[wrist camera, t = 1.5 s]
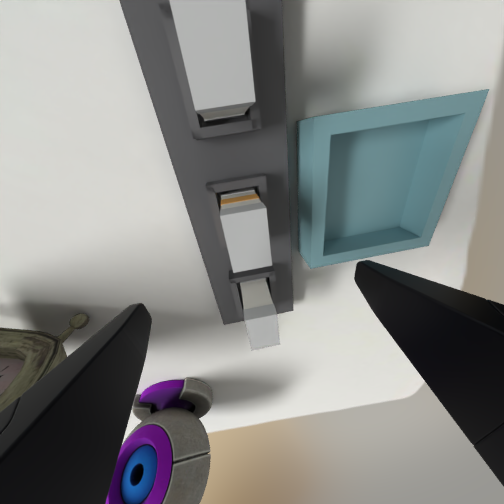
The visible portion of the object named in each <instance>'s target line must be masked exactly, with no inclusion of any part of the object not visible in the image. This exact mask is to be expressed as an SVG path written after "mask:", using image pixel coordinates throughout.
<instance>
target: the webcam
mask: <svg viewBox="0 0 504 504" xmlns="http://www.w3.org/2000/svg"><path fill="white" fill-rule="evenodd" d="M212 400H213V392H212V390H211V388H210V387H209V386H208V385H207V384H205V383H203V382H201V381H198V380H195V379H190V378H185V380H171V381H164V382H160V383H157V384H154V385H152V386H150V387H149V388H147V389H146V390H144V392H143V393H142V394H141V397H140V395H135V399H134V402H133V407H132V410H133V413H134V415H135V416H136V417H137V418H138V419H140V420H142V422H141V423H140V424H138V425H137V426H136V427H135V428H134V430H133V431H132V432H131V433H130V434H129V436H128V437H127V438H126V440H125V441H124V443H123V444H122V446H121V449H120V453H119V456H118V460H117V464H116V467H115V471H114V474H113V478H112V482H111V485H110V489H109V492H108V496H107V500H106V503H105V504H199V503H200V501H201V499H202V496H203V494H204V490H205V487H206V484H207V479H208V475H209V469H210V454H207V453H209V452H210V445H209V440H208V435H207V433H206V430H205V428H204V426H203V424H202V422H201V421H200V420H199V418H201V417H202V416H204V415H205V414H206V413H207V412H208V411H209V410H210V408H211V405H212Z"/></svg>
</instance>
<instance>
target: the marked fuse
mask: <svg viewBox="0 0 504 504" xmlns="http://www.w3.org/2000/svg"><path fill="white" fill-rule="evenodd" d="M220 218H221V222H222V227H223V231H224V235H225V239H226V244H227V248H228V252H229V256H230V261H231V265H232V269H233V273H236V272H241V271H246V270H251V269H257V268H262V267H267V266H272V259H271V249H270V239H269V229H268V220H267V210H266V207H265V205H264V204H263V202H261V201H260V199H259V197H258V195H257V194H256V193H255V191H254V189H253V187H248V188H243V189H237V190H231V191H225V192H221V210H220Z"/></svg>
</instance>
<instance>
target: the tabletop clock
mask: <svg viewBox="0 0 504 504" xmlns="http://www.w3.org/2000/svg"><path fill="white" fill-rule="evenodd" d="M88 322H89V317H88V316H87V315H85V314H77V315H75V316H74V317H73V318H72V319H71V320H70V327H69V328H68V329H67V330H65V331H64V332H63V333H62V334H61V335H60V336H58V337H55V336H53V335H51V334H48V333H44V332H40V331H31V330H21V329H9V328H0V412H1V411H2V410H3V409H5V408H6V407H7V406H8V405H9V404H11V403H12V402H13V401H14V400H16V399H17V398H18V397H21V396H22V394H23V393H24V392H25V391H27V390H28V389H29V388H30V387H31V386H33V385H34V384H35V383H36V382H38V381H39V380H40V379H41V378H42V377H44V376H45V375H46V374H47V373H48V372H50V371H51V370H52V369H53V368H55V367H56V366H57V365H58V364H59V363H61V362H62V361H63V360H64V359H66V358H67V355H66V352H65V349H64V347H63V344H62V343H63V342H64V341H65V340H66V339H67V337H68V336H69V335H70V334H71V333H72V332H73V331H74V329H81V328H83V327H84V326H86V325H87V324H88Z"/></svg>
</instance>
